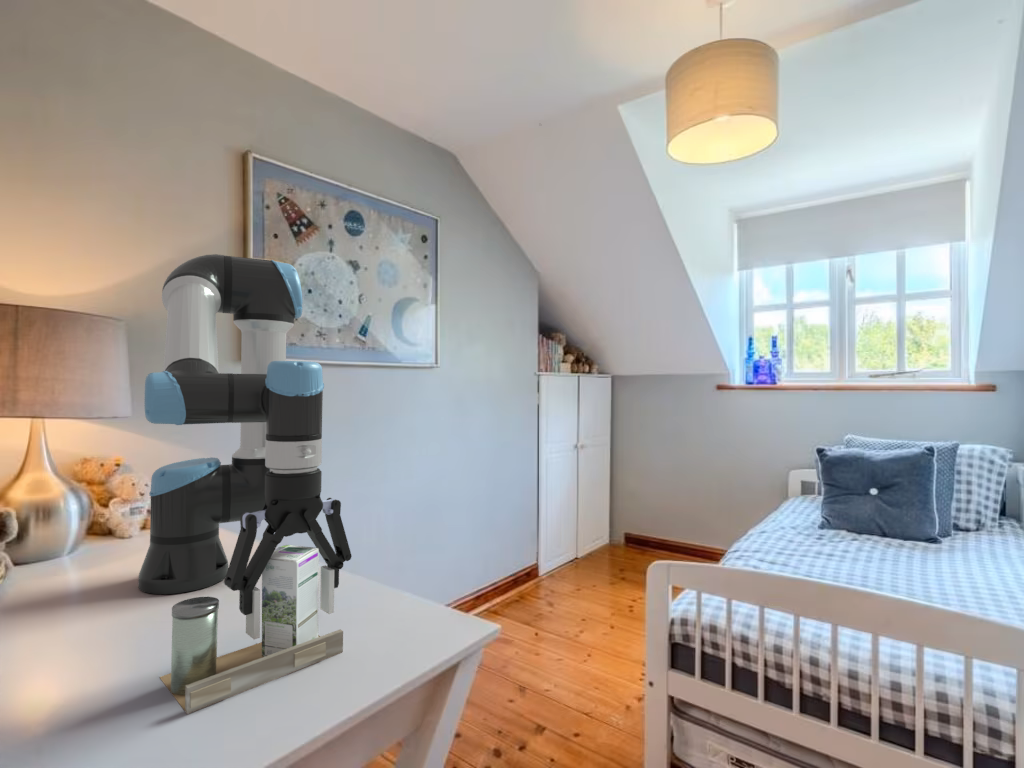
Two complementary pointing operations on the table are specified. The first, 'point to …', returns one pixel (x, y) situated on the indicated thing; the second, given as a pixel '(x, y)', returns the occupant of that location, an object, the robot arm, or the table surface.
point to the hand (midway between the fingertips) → (291, 622)
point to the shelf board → (254, 670)
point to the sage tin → (193, 641)
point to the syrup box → (290, 598)
